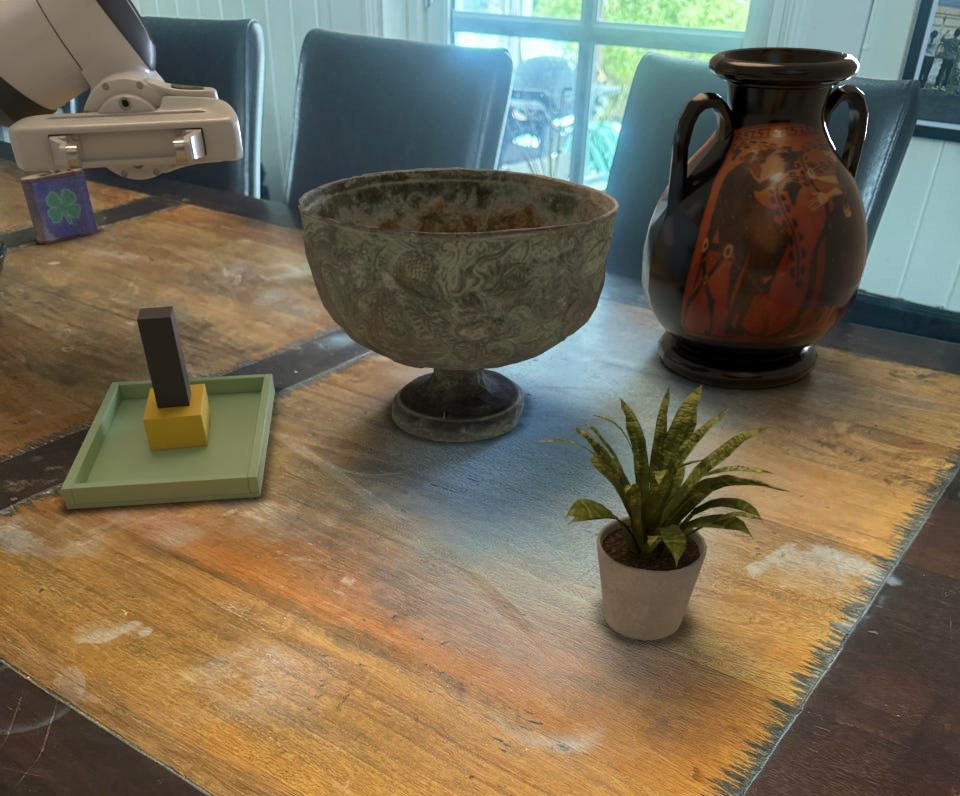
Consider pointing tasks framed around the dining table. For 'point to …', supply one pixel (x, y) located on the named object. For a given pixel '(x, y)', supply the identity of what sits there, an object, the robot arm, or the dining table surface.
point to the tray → (180, 471)
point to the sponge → (171, 386)
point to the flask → (59, 205)
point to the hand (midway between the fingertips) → (127, 155)
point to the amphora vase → (759, 221)
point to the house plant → (660, 518)
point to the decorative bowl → (458, 281)
